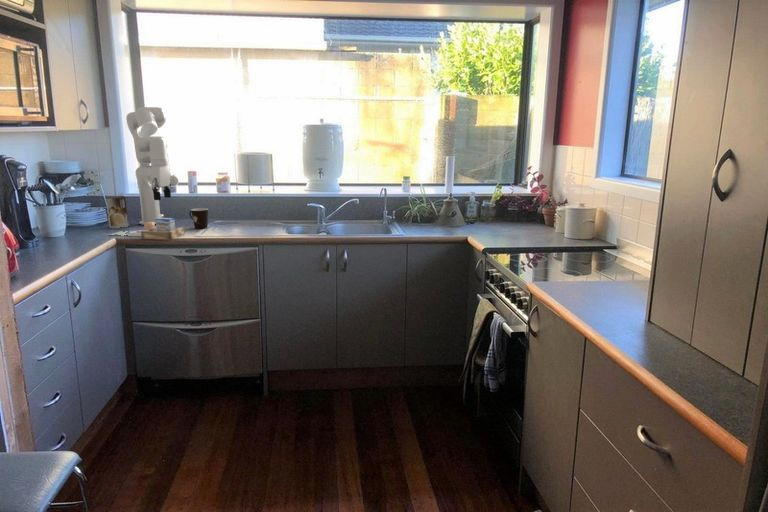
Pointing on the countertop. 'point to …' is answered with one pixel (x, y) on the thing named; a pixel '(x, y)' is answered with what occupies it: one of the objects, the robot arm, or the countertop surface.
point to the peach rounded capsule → (149, 225)
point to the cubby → (161, 234)
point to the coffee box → (117, 212)
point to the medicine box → (165, 224)
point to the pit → (135, 233)
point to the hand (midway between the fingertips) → (162, 198)
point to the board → (120, 233)
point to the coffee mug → (200, 217)
